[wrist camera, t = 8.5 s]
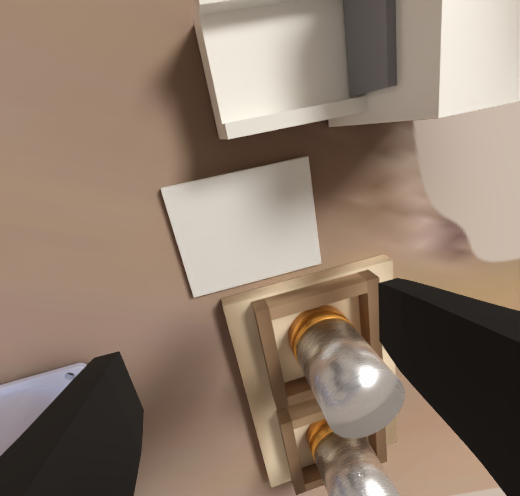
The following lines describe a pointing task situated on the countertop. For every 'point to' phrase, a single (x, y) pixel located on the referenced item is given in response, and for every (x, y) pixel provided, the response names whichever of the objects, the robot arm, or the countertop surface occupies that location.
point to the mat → (244, 225)
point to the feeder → (355, 60)
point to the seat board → (286, 367)
